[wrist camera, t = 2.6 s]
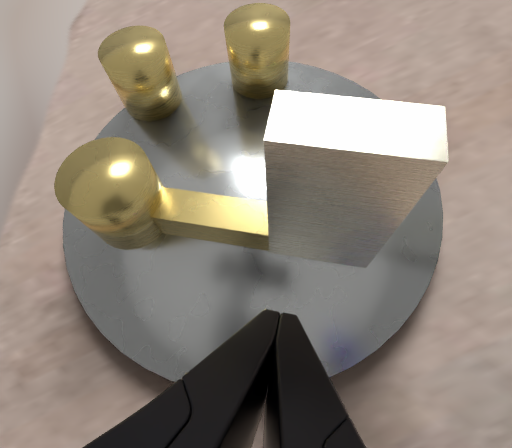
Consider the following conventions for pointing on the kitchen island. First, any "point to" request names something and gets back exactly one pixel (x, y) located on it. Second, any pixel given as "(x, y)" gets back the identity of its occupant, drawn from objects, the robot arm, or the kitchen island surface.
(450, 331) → the kitchen island surface
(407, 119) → the lever
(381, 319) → the base
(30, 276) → the kitchen island surface
